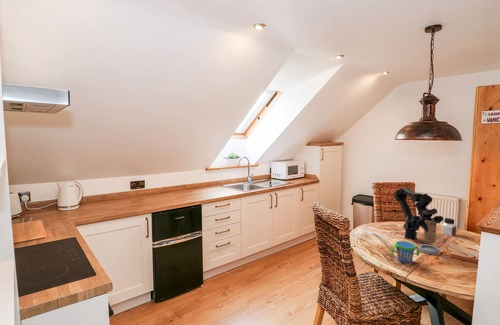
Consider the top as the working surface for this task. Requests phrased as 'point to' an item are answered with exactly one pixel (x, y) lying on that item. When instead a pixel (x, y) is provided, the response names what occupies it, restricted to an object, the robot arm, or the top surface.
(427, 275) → the top surface
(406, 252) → the snack cup
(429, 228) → the walnut block
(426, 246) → the gray bowl
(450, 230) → the medicine bottle
